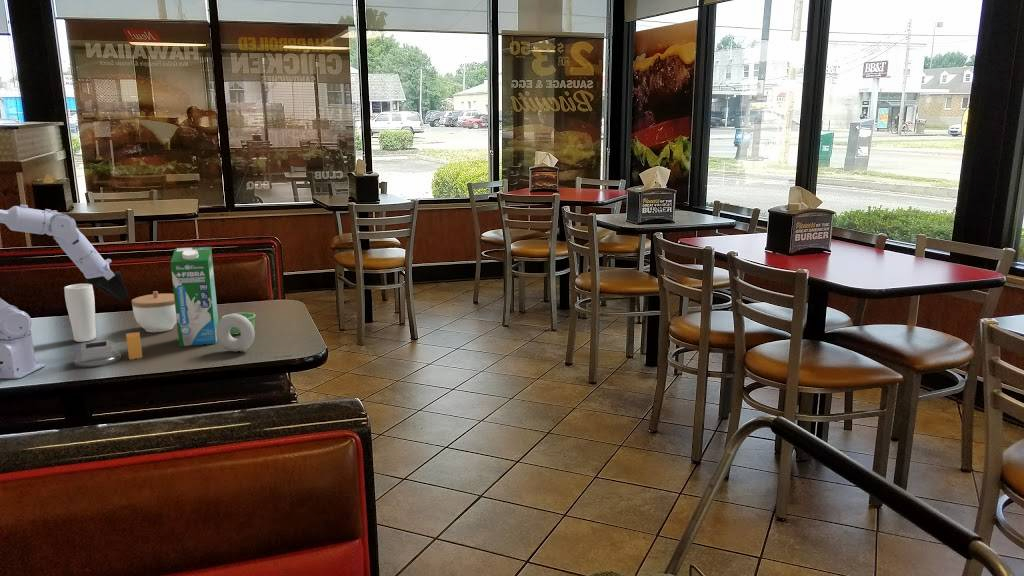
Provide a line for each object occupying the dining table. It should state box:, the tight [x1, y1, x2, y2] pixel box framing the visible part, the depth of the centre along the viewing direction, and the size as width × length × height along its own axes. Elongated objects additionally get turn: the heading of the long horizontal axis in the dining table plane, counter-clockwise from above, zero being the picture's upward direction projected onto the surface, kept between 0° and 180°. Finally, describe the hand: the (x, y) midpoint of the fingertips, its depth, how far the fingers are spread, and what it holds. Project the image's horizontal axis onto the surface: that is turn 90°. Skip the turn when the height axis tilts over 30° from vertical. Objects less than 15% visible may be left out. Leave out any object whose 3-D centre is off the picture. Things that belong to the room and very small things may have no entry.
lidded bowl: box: [131, 290, 177, 333], centre depth 210 cm, size 13×13×11 cm
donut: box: [216, 313, 256, 353], centre depth 188 cm, size 10×4×10 cm, turn 84°
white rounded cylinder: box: [63, 283, 97, 343], centre depth 199 cm, size 7×7×15 cm
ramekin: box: [220, 312, 256, 335], centre depth 209 cm, size 9×9×4 cm
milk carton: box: [170, 246, 219, 347], centre depth 197 cm, size 9×9×25 cm
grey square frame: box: [73, 339, 122, 369], centre depth 182 cm, size 10×10×4 cm
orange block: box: [125, 331, 143, 360], centre depth 185 cm, size 3×3×6 cm
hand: (119, 296), depth 189 cm, fingers open, 7 cm apart
